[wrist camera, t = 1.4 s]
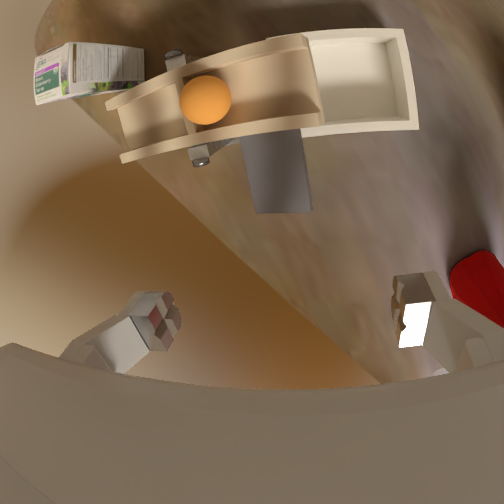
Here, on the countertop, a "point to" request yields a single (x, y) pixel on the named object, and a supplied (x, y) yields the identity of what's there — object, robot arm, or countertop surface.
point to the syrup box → (86, 70)
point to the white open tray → (363, 80)
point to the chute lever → (238, 116)
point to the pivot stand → (204, 150)
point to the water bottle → (480, 285)
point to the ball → (205, 100)
